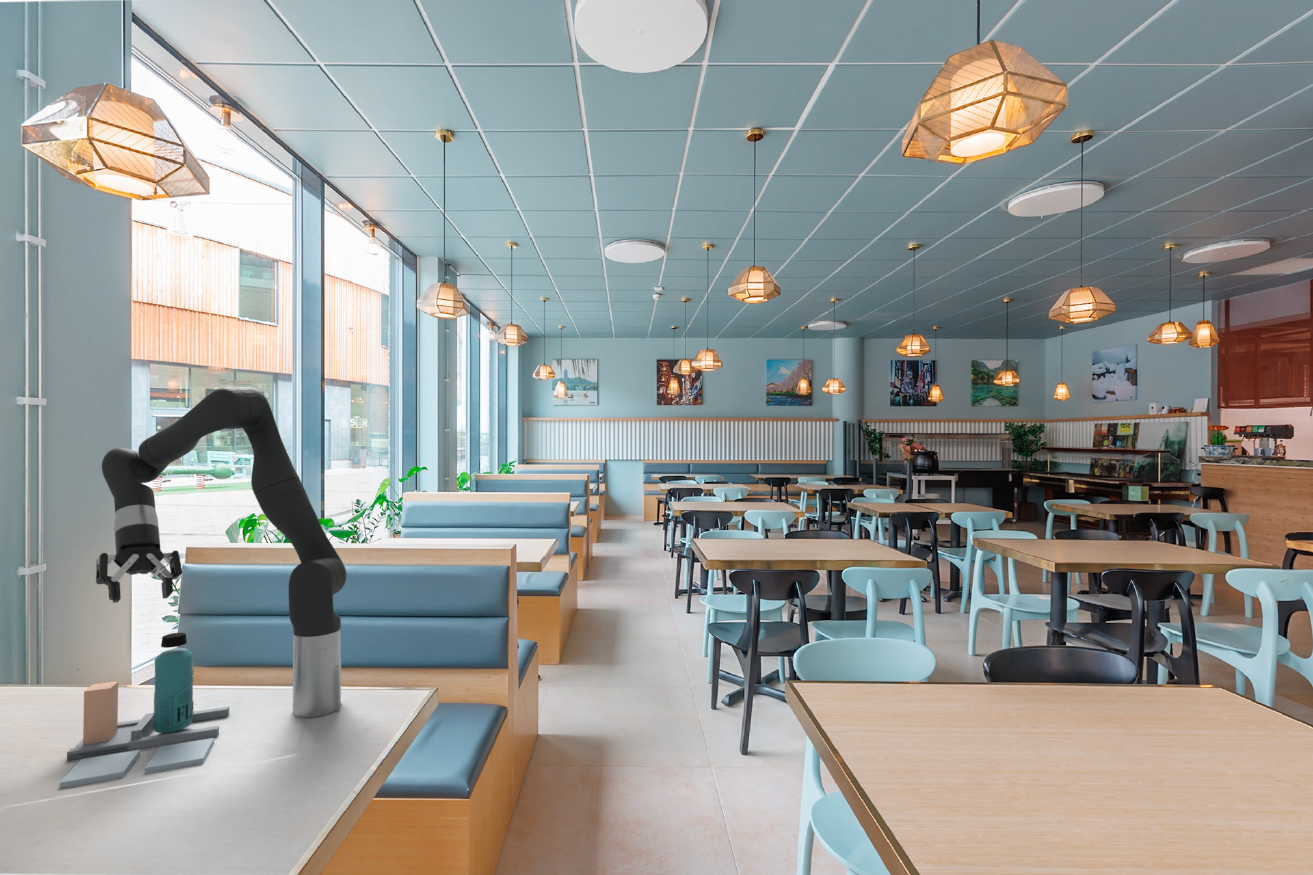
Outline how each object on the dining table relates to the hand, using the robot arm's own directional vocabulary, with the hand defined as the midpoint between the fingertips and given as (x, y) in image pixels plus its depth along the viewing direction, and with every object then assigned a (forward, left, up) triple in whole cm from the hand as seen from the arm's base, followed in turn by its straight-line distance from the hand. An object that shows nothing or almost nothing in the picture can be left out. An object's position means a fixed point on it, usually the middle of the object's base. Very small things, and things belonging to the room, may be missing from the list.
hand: (142, 598), depth 133 cm
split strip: (-6, +23, -26) cm, 35 cm away
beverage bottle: (-8, +10, -26) cm, 29 cm away
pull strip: (-5, +10, -26) cm, 28 cm away
